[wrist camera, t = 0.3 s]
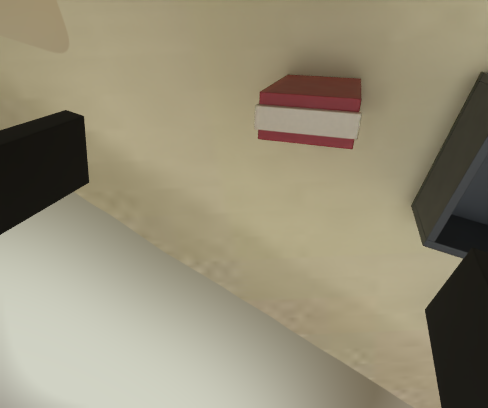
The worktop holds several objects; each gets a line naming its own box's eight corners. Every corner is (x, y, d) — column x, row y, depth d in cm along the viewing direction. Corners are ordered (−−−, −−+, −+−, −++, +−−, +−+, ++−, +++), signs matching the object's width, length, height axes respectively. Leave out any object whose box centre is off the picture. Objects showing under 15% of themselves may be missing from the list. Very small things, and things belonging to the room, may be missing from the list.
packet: (285, 74, 38) (255, 92, 27) (363, 78, 35) (364, 100, 24) (283, 110, 39) (253, 140, 28) (356, 116, 37) (355, 152, 26)
